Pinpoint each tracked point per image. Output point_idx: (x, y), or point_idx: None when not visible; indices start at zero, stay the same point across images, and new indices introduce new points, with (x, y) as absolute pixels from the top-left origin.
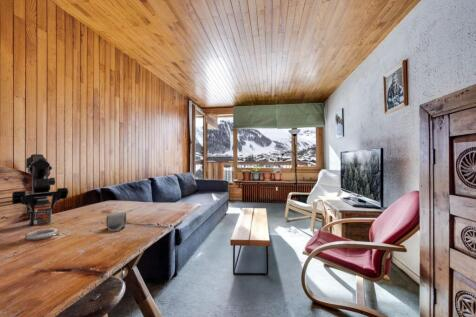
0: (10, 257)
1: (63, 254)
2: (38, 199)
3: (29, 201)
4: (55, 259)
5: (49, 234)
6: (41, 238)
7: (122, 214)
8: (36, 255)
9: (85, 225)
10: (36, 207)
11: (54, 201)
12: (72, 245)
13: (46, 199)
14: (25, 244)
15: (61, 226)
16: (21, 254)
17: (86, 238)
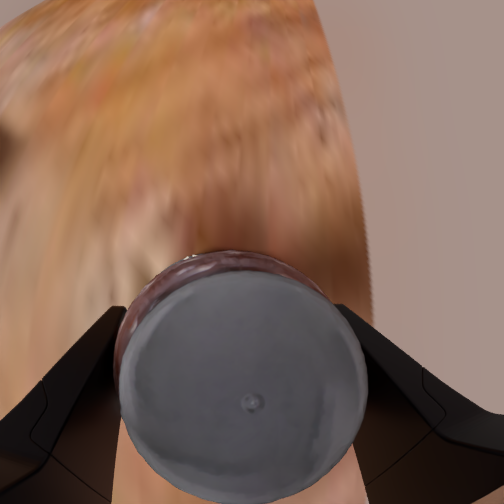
0: (329, 98)
1: (194, 21)
2: (338, 456)
3: (450, 402)
4: (219, 8)
5: (187, 257)
6: None
7: None
8: (259, 57)
9: (4, 375)
10: (320, 290)
11: (49, 381)
12: (146, 66)
13: (173, 329)
14: (296, 222)
15: None
16: (301, 98)
17: (76, 111)
